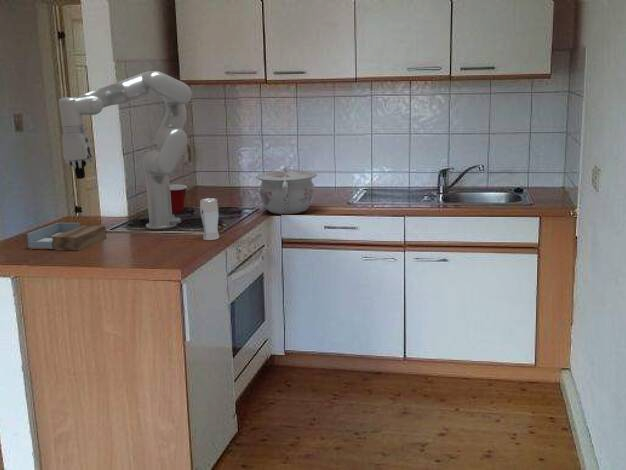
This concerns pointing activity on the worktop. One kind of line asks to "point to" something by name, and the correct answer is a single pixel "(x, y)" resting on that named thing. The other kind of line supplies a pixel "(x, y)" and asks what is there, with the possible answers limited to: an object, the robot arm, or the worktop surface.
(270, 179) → the chamber pot
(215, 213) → the beer glass
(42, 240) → the tile
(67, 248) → the tan slab
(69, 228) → the box
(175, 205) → the plastic cup
